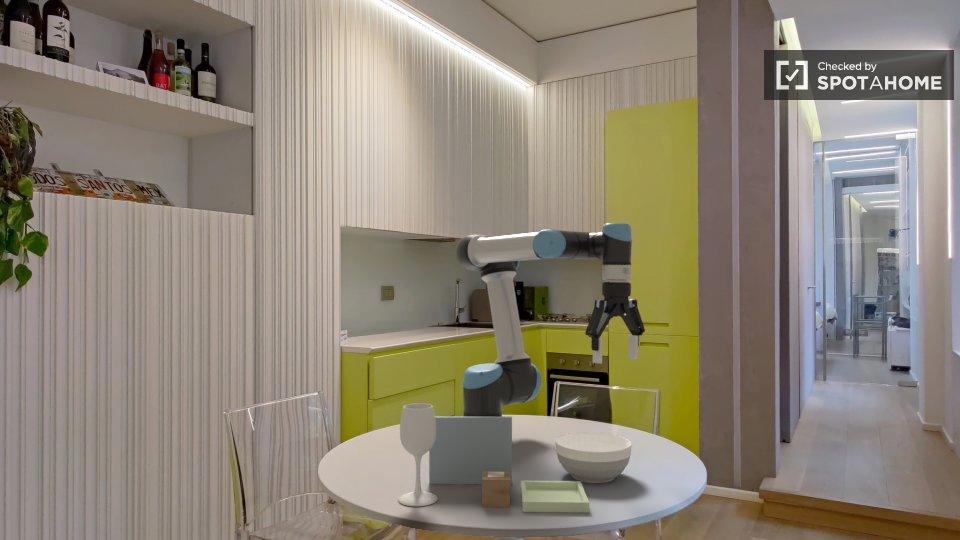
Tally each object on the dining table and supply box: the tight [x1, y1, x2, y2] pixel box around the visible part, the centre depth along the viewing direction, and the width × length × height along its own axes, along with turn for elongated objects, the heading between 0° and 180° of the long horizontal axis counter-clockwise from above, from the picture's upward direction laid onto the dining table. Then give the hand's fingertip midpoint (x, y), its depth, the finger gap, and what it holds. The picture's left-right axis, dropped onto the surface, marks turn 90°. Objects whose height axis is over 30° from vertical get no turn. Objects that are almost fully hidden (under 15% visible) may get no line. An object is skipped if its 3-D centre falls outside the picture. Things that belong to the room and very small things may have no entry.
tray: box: [520, 480, 590, 514], centre depth 140 cm, size 14×14×2 cm
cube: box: [481, 471, 511, 508], centre depth 139 cm, size 6×6×6 cm
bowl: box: [554, 431, 632, 484], centre depth 157 cm, size 19×19×9 cm
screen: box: [428, 415, 513, 486], centre depth 151 cm, size 20×2×16 cm, turn 88°
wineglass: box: [398, 402, 438, 507], centre depth 140 cm, size 9×9×21 cm
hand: (615, 361), depth 166 cm, fingers open, 13 cm apart
